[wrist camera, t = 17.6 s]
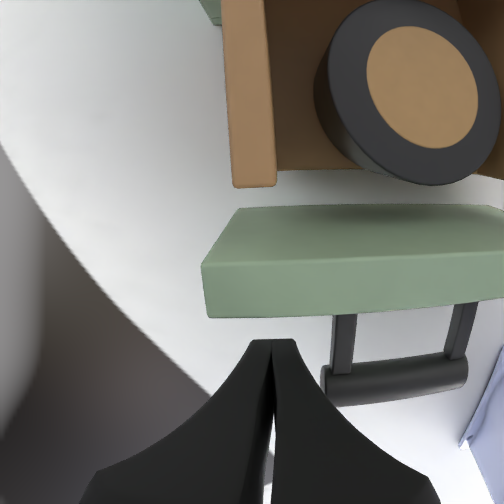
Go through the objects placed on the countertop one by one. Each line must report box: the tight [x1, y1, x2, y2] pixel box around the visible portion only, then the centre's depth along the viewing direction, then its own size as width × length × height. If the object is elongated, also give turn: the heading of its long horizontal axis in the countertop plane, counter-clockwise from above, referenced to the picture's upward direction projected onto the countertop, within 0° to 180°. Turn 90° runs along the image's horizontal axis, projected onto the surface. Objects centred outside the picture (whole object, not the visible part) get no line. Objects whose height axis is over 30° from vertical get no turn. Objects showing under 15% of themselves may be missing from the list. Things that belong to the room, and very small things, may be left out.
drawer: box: [201, 0, 504, 407], centre depth 7 cm, size 17×10×6 cm, turn 4°
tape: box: [313, 0, 501, 186], centre depth 7 cm, size 5×5×3 cm
